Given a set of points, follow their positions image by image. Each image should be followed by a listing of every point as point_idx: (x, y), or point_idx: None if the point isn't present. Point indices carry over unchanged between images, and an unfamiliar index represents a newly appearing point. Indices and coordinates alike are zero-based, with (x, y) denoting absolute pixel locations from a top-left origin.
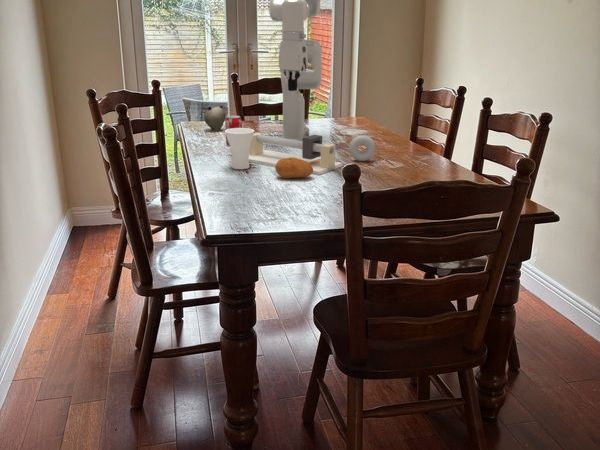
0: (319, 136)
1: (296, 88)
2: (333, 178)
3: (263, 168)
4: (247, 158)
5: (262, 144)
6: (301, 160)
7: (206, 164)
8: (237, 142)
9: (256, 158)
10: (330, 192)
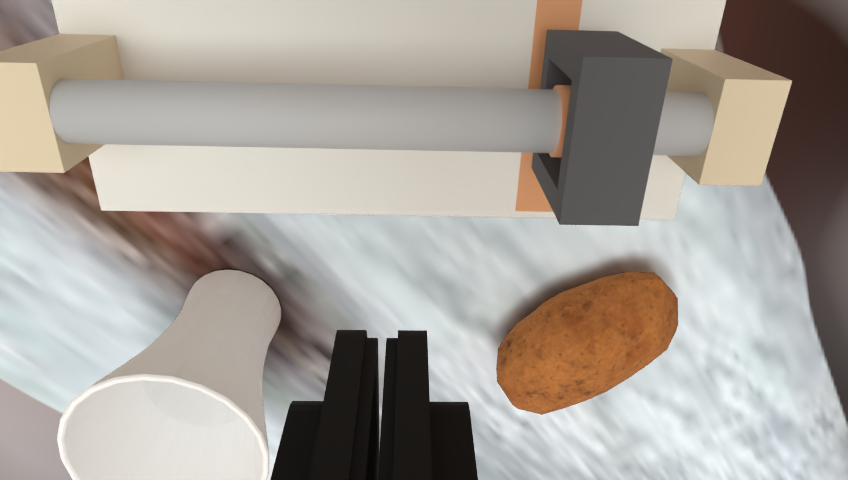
0: (659, 97)
1: (427, 358)
2: (758, 220)
3: (341, 262)
4: (266, 335)
5: (85, 53)
6: (638, 359)
7: (62, 354)
8: (231, 459)
9: (197, 177)
10: (806, 394)
